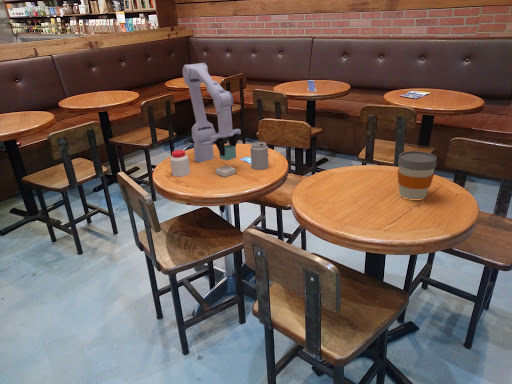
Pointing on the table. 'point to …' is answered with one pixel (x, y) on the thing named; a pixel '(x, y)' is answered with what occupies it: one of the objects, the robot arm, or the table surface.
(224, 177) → the bottom tile
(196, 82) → the robot arm
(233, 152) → the cube
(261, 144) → the can
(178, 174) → the pill bottle
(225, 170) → the top tile
